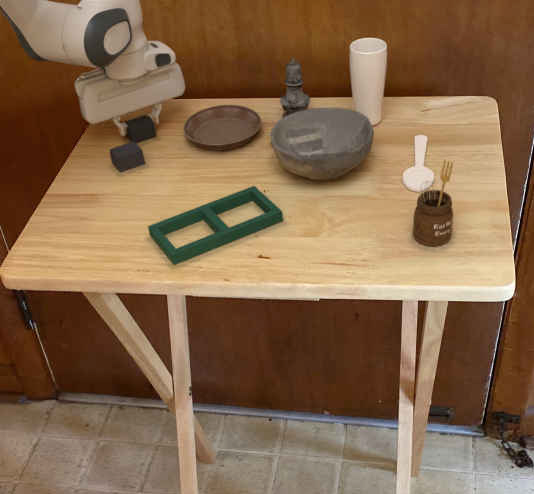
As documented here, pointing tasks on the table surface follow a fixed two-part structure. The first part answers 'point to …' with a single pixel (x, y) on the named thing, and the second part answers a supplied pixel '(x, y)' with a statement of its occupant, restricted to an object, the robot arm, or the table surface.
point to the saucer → (222, 126)
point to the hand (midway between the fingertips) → (139, 128)
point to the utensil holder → (434, 213)
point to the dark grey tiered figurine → (294, 90)
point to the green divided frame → (215, 224)
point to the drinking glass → (368, 76)
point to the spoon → (418, 168)
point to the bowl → (322, 141)
